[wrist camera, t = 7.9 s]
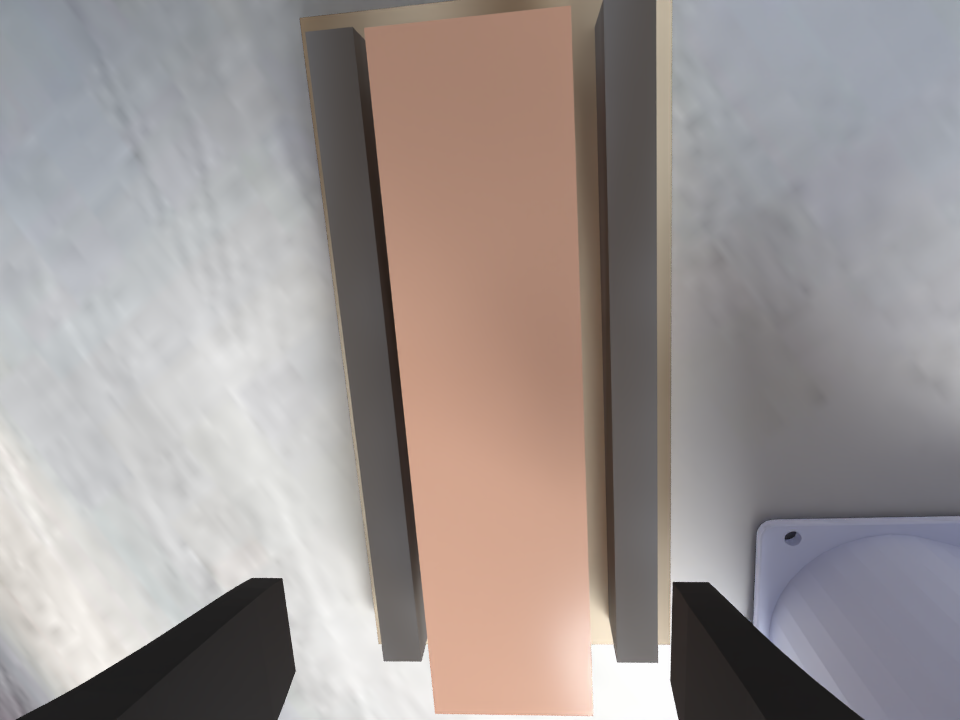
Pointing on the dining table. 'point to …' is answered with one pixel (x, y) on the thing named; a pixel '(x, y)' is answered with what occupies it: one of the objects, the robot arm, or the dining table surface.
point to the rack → (603, 303)
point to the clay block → (490, 349)
